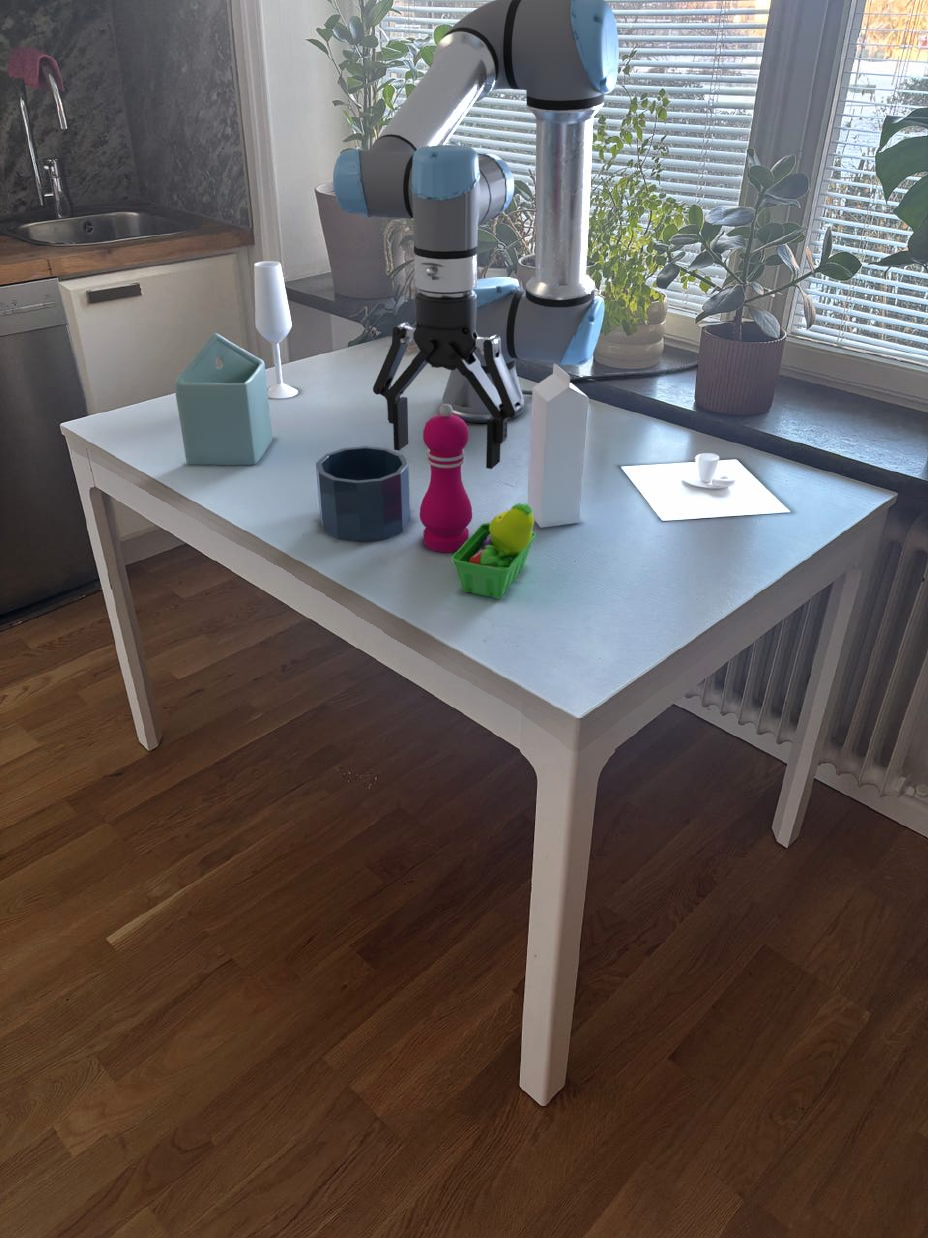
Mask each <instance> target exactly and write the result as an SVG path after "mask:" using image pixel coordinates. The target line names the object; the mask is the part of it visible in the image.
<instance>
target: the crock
mask: <svg viewBox="0 0 928 1238" xmlns="http://www.w3.org/2000/svg"><path fill="white" fill-rule="evenodd" d="M409 471H410V470H409V462H408V460H407V459H406V457H405V455H404V454H402V453H399V452H397V451H396V450H394V449H391V448H387V447H378V446H369V445H365V446H364V445H363V446H351V447H343V448H339V449H336V450H334V451H331V452H328V453H325V454H323V455H322V456H321V458H319V459H318V460H317V461H316V462H315V473H316V483H317V484H316V485H317V497H318V509H319V520H320V524H321V527H322V531H323V532H324V533H326V534H327V535H329V536H332V537H333V538H335V539H337V540H341V541H350V542H355V543H367V542H374V541H383V540H387V539H390V538H392V537H394V536H397V535H399V534H401V533H403V532H404V531H405V529H406V528H407V527H408V525H409V524H410V522H411V510H410V509H411V508H410V507H411V505H410V473H409Z"/></svg>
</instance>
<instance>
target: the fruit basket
mask: <svg viewBox="0 0 928 1238" xmlns="http://www.w3.org/2000/svg"><path fill="white" fill-rule="evenodd" d="M534 525H535V520H534V517H533V514H532V509H531V508H530V507H529V506H528V505H527V503H522V502H518V503H515V504H514V505H512V507H511V509H509V510H506V511H503V512H501V513H499V514H496V515H495V516H494V517H493V518H492V519H491V521H490V522H485V523H482V524H480V525H479V526H478V527H477V529H476V530H475V531H474V532H473V533H472V534H471V535H470V536H469V538H468V540H467V541H466V542H465V543H464V544H463V545H462V546H461V548H460V549H459V550H458V551H455V553H454V554H453V555H452V557H451V560H452V563H453V565H454V566H455V569H456V572H457V575H458V580H459V582H460V585H461V589H462V591H463V592H465V593H473V594H474V595H479V596H483V597H489V598H491V597H492V598H494V599H497V600H500V599H501V598H502V597H503V595H504V594H505V592H506V591H507V590H508V589H509V588H510V587H511V584H512V583H513V582H514V581H515V580H516V579H517V577H518V575H519V574H521V572H522V571H523V570H524V567H525V564H526V560H527V558H528V555H529V552H530V549H531V546H532V544H533V543H534V540H535V538H536V533H535V532H534V531H533V528H534Z"/></svg>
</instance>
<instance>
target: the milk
mask: <svg viewBox="0 0 928 1238" xmlns="http://www.w3.org/2000/svg"><path fill="white" fill-rule="evenodd" d="M552 366H553V367H552V373H551V374H550V375H549V376H547V377H546V378H544V379H543V380H541V381H540V382H539V383H537V384H536V385H534V386H533V387H532V390H531V391H532V395H531V411H530V412H531V415H530V434H529V435H530V437H529V454H528V455H529V456H528V457H529V458H528V477H527V501H526V504H527V505H528V506H529V507H530V508H531V509H532V514H533V517H534V522H535V523H536V524H537V525H538V526H539V527H540V528H549V527H556V526H565V525H572V524H578V523H580V514H581V513H580V511H581V500H582V488H583V477H584V476H583V475H584V474H583V473H584V463H585V462H584V461H585V451H586V438H587V437H586V436H587V424H588V414H589V413H588V411H589V401H590V400H589V399H590V398H589V396H587V395H586V394H585V393H584V392H583V391H582V390H580V389H579V388H578V387H577V386H576V385H575V384H573V382H570V377H571V375H570V374H568V373H567V372H566V371H565V370H564V369H563V368H561V367H560V366H559V365H558V364H555V363H553V365H552Z"/></svg>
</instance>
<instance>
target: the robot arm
mask: <svg viewBox="0 0 928 1238" xmlns="http://www.w3.org/2000/svg"><path fill="white" fill-rule="evenodd" d="M618 34H619V33H618V27H617V22H616V17H615V15H614V12H613V9H612V7H611V6H610V5H609V3H608V2H607V1H606V0H492V1H488V2H487V3H485V4H483V5H481V6H479V7H478V8H476V9H474V10H473V11H471V12H469V13H468V14H466V15H465V16H463V18H461V19H459V20H458V21H457V22H456V23H455V24H454V25H452V26H451V28H450V29H449V30H448V31H447V32H446V33H445V34H444V35H443V37H442V38H441V39H440V40H439V42H438V43H437V45H436V47H435V49H434V51H433V56H432V64H431V65H430V67H428V69H427V71H426V72H425V74H423V75H422V78H421V79H420V80H419V81H418V83H417V84H416V86H415V87H414V88H413V89H412V90H411V92H410V93H409V94H408V96H407V98H406V99H405V100H404V101H403V103H402V104H401V106H400V107H399V108H398V109H397V111H396V112H395V114H394V115H393V116H392V118H391V119H390V121H389V122H388V123H387V124H386V126H385V127H384V128H383V130H382V131H381V132H380V134H379V135H378V136H377V138H376V139H375V140H374V142H373V143H372V144H371V146H370V147H369V149H367V150H364V149H361V148H357V149H348V150H345V151H342V152H341V153H340V154H339V155H338V157H337V159H336V160H335V164H334V167H333V174H332V186H333V187H332V188H333V192H334V195H335V199H336V202H337V205H338V206H339V207H340V208H341V210H343V211H344V212H346V213H349V214H354V215H361V216H366V217H367V218H371V217H378V218H379V217H380V218H395V219H411V220H412V224H413V273H414V274H413V275H414V276H413V277H414V287H415V288H416V289H417V291H416V292H415V294H414V321H415V324H416V326H415V327H413V326H411V325H410V323H409V322H407V321H404V322H402V323H400V324H398V325H396V326H394V327H393V328H392V335H391V336H392V337H391V345H390V346H389V349H388V352H387V354H386V356H385V358H384V361H383V364H382V365H381V367H380V371H379V373H378V375H377V377H376V379H375V383H374V385H373V387H372V391H373V393H374V394H375V395H378V396H379V395H380V396H382V397H383V398H385V400H386V407H387V408H386V409H387V421H388V424H392V427H393V428H392V429H393V432H392V433H393V451H396V452H397V451H398V452H400V451H401V450H402V449H404V448H406V447H407V446H408V445H409V444H410V441H409V439H410V438H409V404H408V397H406V396H402V395H404V392H405V391H406V390H407V388H409V386H410V385H411V384H412V383H413V382H414V381H415V379H416V378H417V377H418V375H419V374H420V373H421V372H422V371H423V370H424V368H425V367H426V366H427V365H428V364H429V366H430V367H431V368H435V369H438V368H443V369H445V370H448V371H450V373H449V376H448V379H447V382H446V386H445V389H444V392H443V396H442V400H441V405H442V404H449V405H451V407H452V409H453V412H452V414H453V415H456V416H458V417H460V418H461V419H463V421H464V422H468V423H476V424H486V454H485V455H486V459H485V461H486V462H485V468H486V469H489V470H493V468H495V467H496V466H497V465H498V464H499V463H500V462H501V445H502V444H503V443H504V442H505V441H506V440H507V438H508V424H509V423H508V421H510V420H513V419H515V418H517V417H520V416H521V415H522V414H523V412H524V409H525V408H524V407H525V401H524V395H525V396H526V395H529V396H532V391H533V390H529V389H522V388H521V384H520V380H519V377H518V373H517V370H516V363H517V362H516V360H524V361H532V362H538V363H539V362H541V363H548V364H556V365H560V366H565V365H568V366H582V365H585V364H586V363H587V362H589V360H590V359H591V357H592V356H593V353H594V352H595V349H596V347H597V343H598V341H599V337H600V335H601V334H600V333H601V330H602V326H603V320H604V316H605V309H606V308H605V307H606V306H605V300H604V298H603V297H601V296H599V295H596V296H595V288H596V287H595V284H596V283H595V282H594V280H593V279H591V278H590V276H589V275H588V274H587V265H588V264H587V262H588V243H589V242H588V240H589V236H588V235H589V218H590V197H591V196H590V195H591V177H592V176H591V173H592V153H593V152H592V151H593V150H592V149H593V127H594V116H595V115H596V114H597V113H598V112H599V110H600V109H601V108H602V107H603V106H604V103H605V95H607V94H609V93H611V92H612V91H613V90H614V89H615V87H616V84H617V81H618V80H617V79H618V69H619V65H620V63H619V61H620V49H619V45H620V44H619V35H618ZM496 90H514V91H517V90H518V91H525V95H526V108H527V109H528V110H529V112H531V113H532V114H533V116H534V117H535V119H536V121H535V122H536V124H535V125H536V127H535V140H536V141H535V220H534V221H535V222H534V223H535V224H534V225H535V228H534V230H535V231H534V232H535V233H534V234H535V236H534V257H535V258H534V274H533V276H532V277H531V278H529V279H528V281H527V282H526V284H525V289H520V286H521V285H520V284H519V279H517V278H515V277H509V276H495V277H494V276H493V277H485V278H478V236H479V235H478V233H479V232H478V231H479V228H478V227H479V225H482V224H484V223H488V222H490V221H493V220H494V219H497V217H499V216H501V213H503V212H504V211H506V209H507V208H508V207H509V205H510V204H511V202H512V199H513V197H514V192H515V180H514V174H513V173H512V170H511V168H510V166H509V165H508V164H507V163H506V161H505V160H504V159H502V158H501V157H499V156H498V155H496V154H494V153H493V154H492V153H479V152H477V151H476V150H475V149H474V148H473V147H471V146H467V145H459V144H458V145H457V144H447V143H448V142H449V140H450V138H451V137H453V134H454V132H455V131H456V130H457V129H458V127H459V125H460V123H462V121H463V119H464V118H465V117H466V115H467V113H468V112H469V111H470V109H471V108H472V106H473V104H474V103H476V102H480V101H481V100H483V99H484V98H486V97H487V96H488V95H489V93H490V92H491V91H496ZM412 341H414V343H415V344H416V346H417V348H418V349H419V351H418V353H417V354H416V355H415V356H414V357H413V359H412V360H411V362H410V364H409V365H408V366H407V367H406V368H405V370H403V372H402V373H401V374H400V376H399V377H398V378H397V379H396V380H395V381H394V379H395V376H396V374H397V372H398V370H399V367H400V365H401V362H402V360H403V358H404V355H405V354H406V351H407V348H408V346H409V344H410V343H411V342H412ZM697 361H698V360H696V361H694V362H691V363H688V364H685V365H680V366H676V367H670V368H664V369H662V368H661V369H655V370H654V369H653V370H644V371H642V370H641V371H629V372H628V371H627V372H625V371H624V372H613V373H611V372H610V373H604V374H605V375H595V374H591V375H592V376H586V375H582V376H583V377H576V376H570V383H573V382H579V381H587V380H599V379H613V378H615V379H616V378H627V377H628V378H629V377H644V376H645V377H646V376H656V375H663V374H664V375H665V374H670V373H677V372H682V371H686V370H689V369H692V368H695V367H697V366H698V365H697ZM572 377H574V378H572ZM393 381H394V383H393ZM392 383H393V384H392Z"/></svg>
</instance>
